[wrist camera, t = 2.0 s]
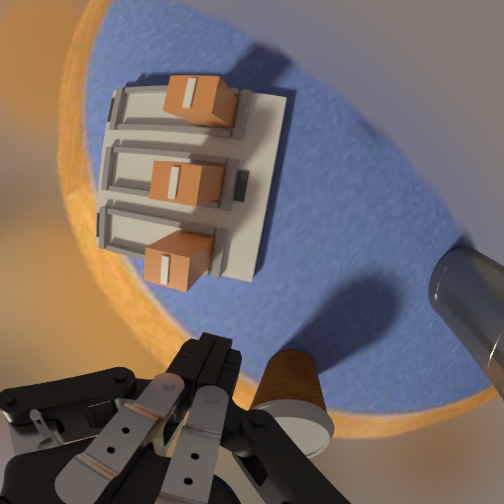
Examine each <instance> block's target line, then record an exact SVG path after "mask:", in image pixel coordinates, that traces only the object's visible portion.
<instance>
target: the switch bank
mask: <svg viewBox="0 0 504 504" xmlns="http://www.w3.org/2000/svg"><path fill="white" fill-rule="evenodd" d="M167 88H168V85H164V86H139V87H125V88H117V90H116V91H113V96H112V100H111V105H110V109H109V114H108V120H107V125H106V131H105V137H104V144H103V151H102V158H101V167H100V176H99V187H98V202H97V225H96V244H99V248H101V249H106V250H108V251H112V252H116V253H119V254H123V255H127V256H130V257H134V258H138V259H142V260H145V247H147V246H148V245H150V244H152V243H154V242H156V241H158V240H160V239H162V238H163V237H165V236H167V235H169V234H171V233H173V232H175V231H177V230H182V231H186V232H191V233H196V234H201V235H206V236H210V237H214V244H213V251H212V259H211V265H210V266H209V267H208V269H207V270H206V271H205V272H204V273H203V274H202V275H205V276H208V275H209V274H210V273H212V275H211V277H213V278H218V279H219V278H220V276H221V275H222V276H226V277H231V278H235V279H239V280H244V281H248V282H252V280H253V278H254V273H255V268H256V263H257V258H258V252H259V247H260V242H261V237H262V232H263V226H264V221H265V216H266V211H267V205H268V200H269V195H270V190H271V184H272V179H273V174H274V168H275V163H276V158H277V152H278V147H279V141H280V136H281V131H282V125H283V120H284V114H285V109H286V103H287V98H286V97H281V96H274V95H268V94H260V93H253V92H252V90H250V89H243V90H242V91H240V90H239V88H229V89H230V90H231V91H232V92H233V94H234V95H235V96H236V97H237V99H238V103H237V108H236V113H235V118H234V123H233V128H228V127H219V126H209V125H198V124H192V123H190V122H188V121H186V120H184V119H181V118H179V117H177V116H174V115H172V114H170V113H167V112H165V111H163V107H164V102H165V97H166V93H167ZM154 161H171V162H186V163H194V164H202V165H209V166H216V167H222V168H225V173H224V179H223V185H222V191H221V198H219V199H217V200H214V201H211V202H208V203H205V204H202V205H199V206H197V207H195V206H189V205H184V204H178V203H172V202H166V201H160V200H154V199H149V196H150V187H151V179H152V171H153V164H154Z"/></svg>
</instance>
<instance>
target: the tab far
mask: <svg viewBox="0 0 504 504" xmlns="http://www.w3.org/2000/svg"><path fill="white" fill-rule="evenodd" d="M213 244H214V237H210V236H206V235H201V234H196V233H191V232H186V231H182V230H177V231H175V232H173V233H171V234H169V235H167V236H165V237H163V238H162V239H160V240H158V241H156V242H154V243H152V244H150V245H148V246H147V247H145V265H144V281H148V282H151V283H155V284H158V285H162V286H165V287H169V288H173V289H176V290H180V291H184V292H187V291H188V290H189V289H190V288H191V287H192V285H193V284H194V283H195V282H196V281H197V280H198V279H199V278H200V276H201V275H202V274H203V273H204V272H205V271H206V270H207V269H208V267H209V266H210V265H211V259H212V251H213Z"/></svg>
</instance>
